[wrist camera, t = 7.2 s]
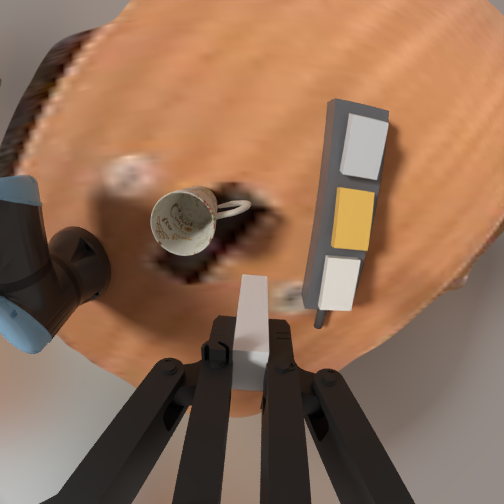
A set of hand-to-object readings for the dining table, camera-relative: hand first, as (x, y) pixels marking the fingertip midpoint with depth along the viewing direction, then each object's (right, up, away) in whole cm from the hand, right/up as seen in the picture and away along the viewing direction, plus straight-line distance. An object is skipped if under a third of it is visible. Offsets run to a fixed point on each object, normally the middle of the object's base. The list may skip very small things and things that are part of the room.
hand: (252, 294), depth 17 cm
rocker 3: (+13, -2, +23) cm, 26 cm away
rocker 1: (+14, +16, +14) cm, 26 cm away
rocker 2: (+14, +7, +18) cm, 24 cm away
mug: (-6, +10, +25) cm, 28 cm away
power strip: (+14, +7, +25) cm, 30 cm away
